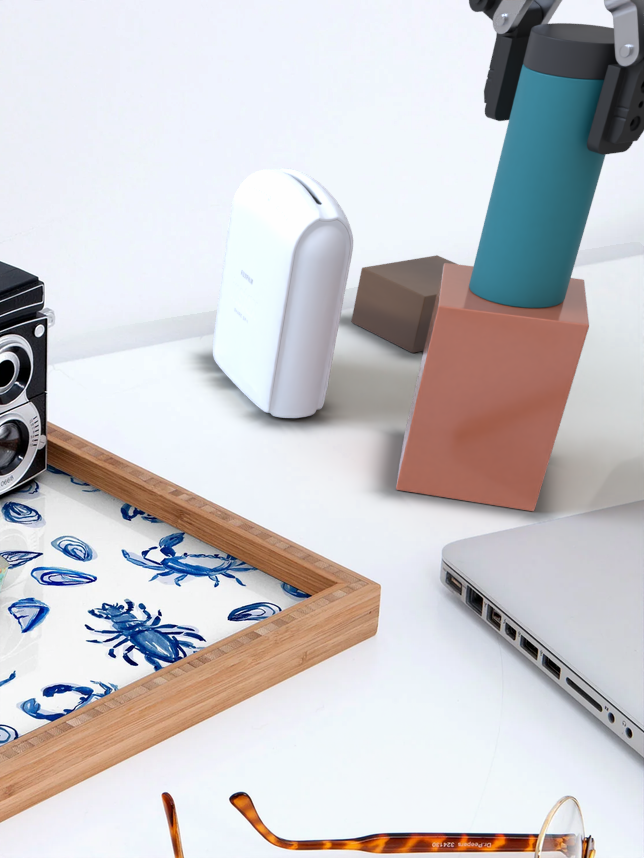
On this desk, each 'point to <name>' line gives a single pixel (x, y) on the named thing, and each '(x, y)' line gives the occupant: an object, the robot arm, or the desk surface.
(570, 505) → the desk surface
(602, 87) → the robot arm
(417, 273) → the block
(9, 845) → the desk surface
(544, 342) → the plinth
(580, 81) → the bottle
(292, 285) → the photo printer
